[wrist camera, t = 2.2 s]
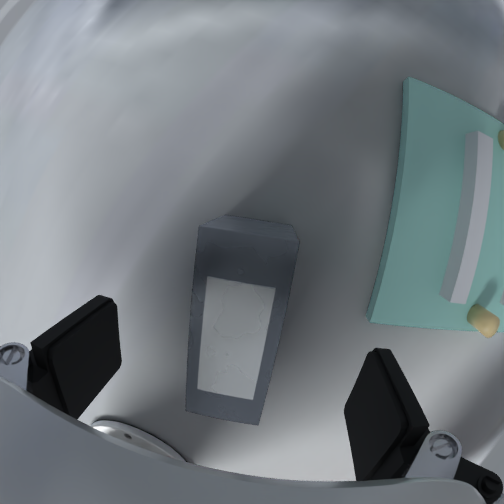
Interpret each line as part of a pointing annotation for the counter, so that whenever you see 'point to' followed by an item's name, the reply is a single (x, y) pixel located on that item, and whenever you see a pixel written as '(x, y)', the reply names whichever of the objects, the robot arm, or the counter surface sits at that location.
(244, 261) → the block
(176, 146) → the counter surface
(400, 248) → the docking tray
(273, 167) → the counter surface
